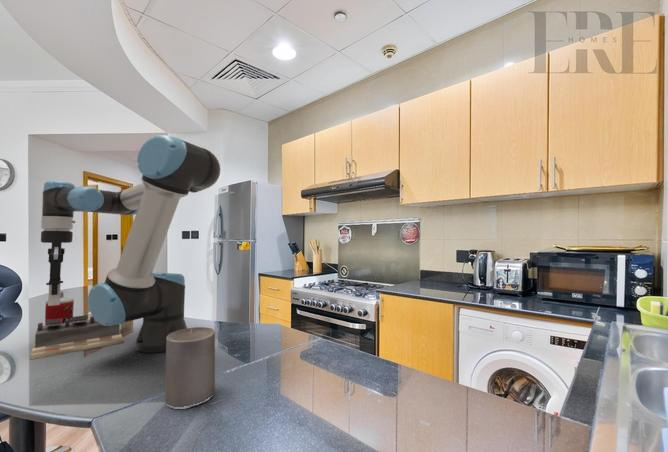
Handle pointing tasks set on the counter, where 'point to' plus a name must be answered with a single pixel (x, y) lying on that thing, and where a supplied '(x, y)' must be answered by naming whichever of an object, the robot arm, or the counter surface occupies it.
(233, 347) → the counter surface
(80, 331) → the switch unit
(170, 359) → the pillar candle
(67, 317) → the canned food
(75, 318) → the rocker middle
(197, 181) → the robot arm
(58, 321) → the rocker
